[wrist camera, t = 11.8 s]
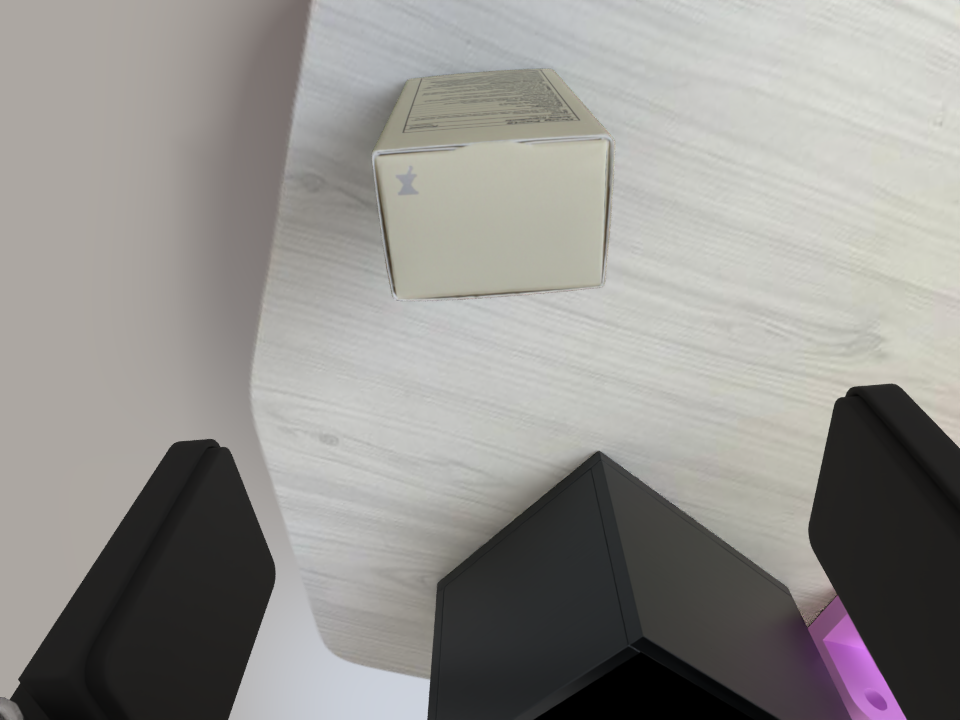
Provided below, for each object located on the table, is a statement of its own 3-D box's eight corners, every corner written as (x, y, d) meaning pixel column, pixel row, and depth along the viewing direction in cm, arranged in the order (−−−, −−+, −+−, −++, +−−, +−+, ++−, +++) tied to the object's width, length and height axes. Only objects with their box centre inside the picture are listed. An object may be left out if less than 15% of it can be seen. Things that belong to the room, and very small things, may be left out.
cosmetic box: (416, 181, 29) (379, 307, 18) (405, 75, 26) (354, 149, 16) (563, 173, 29) (609, 295, 18) (563, 65, 26) (617, 133, 16)
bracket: (802, 634, 45) (850, 736, 39) (849, 582, 42) (909, 683, 36) (961, 668, 47) (1030, 771, 41) (1016, 621, 44) (1099, 724, 38)
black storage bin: (437, 583, 42) (422, 776, 32) (599, 450, 37) (642, 635, 27) (623, 687, 48) (659, 878, 38) (788, 587, 42) (882, 782, 32)
